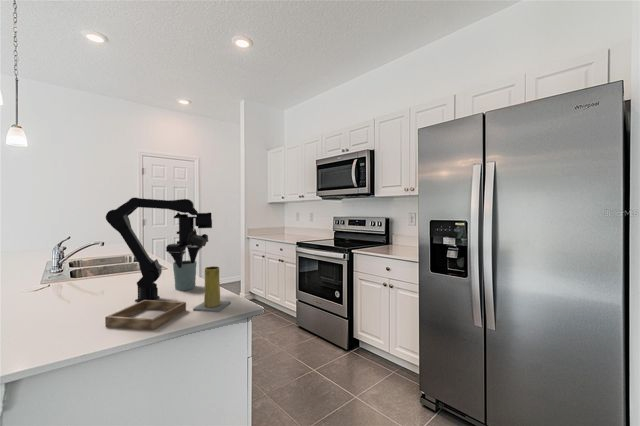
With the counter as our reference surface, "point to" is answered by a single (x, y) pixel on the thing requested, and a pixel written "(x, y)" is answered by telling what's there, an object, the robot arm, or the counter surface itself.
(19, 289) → the counter surface
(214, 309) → the slate mat
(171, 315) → the wooden frame
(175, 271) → the grey-blue cup
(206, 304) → the vase
